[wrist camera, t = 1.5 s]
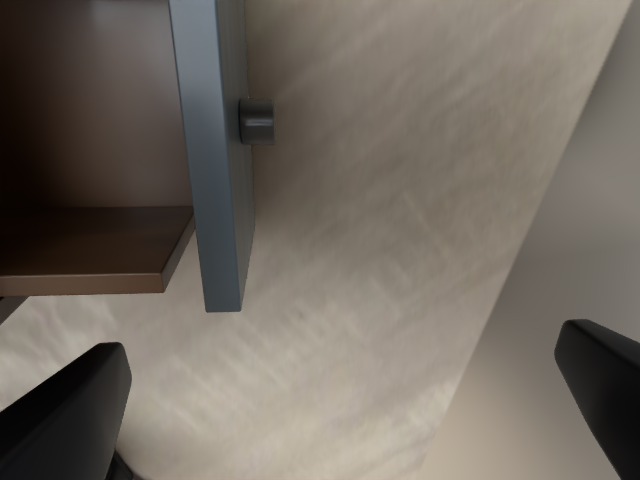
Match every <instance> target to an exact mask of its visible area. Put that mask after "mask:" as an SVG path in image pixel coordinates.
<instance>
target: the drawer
mask: <svg viewBox="0 0 640 480" xmlns="http://www.w3.org/2000/svg"><path fill="white" fill-rule="evenodd" d="M275 139H276V129H275V102H274V99H258V98H249V92H248V73H247V54H246V35H245V16H244V0H0V297H5V296H49V295H93V294H137V293H164V292H165V290H166V288H167V286H168V284H169V281H170V279H171V277H172V275H173V273H174V271H175V269H176V267H177V265H178V263H179V261H180V259H181V257H182V255H183V253H184V251H185V248H186V246H187V244H188V242H189V240H190V238H191V236H192V234H193V232H194V230H195V228H196V236H197V244H198V253H199V261H200V269H201V277H202V285H203V293H204V302H205V310H206V312H239V311H241V308H242V302H243V296H244V290H245V284H246V279H247V273H248V267H249V261H250V255H251V249H252V243H253V237H254V231H255V206H254V187H253V168H252V149H251V145H274V144H275Z"/></svg>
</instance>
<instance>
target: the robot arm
mask: <svg viewBox="0 0 640 480" xmlns="http://www.w3.org/2000/svg"><path fill="white" fill-rule="evenodd" d="M554 355H555V360H556V363H557V365H558V367H559V369H560V371H561V373H562V375H563V377H564V379H565V381H566V383H567V385H568V387H569V389H570V391H571V393H572V395H573V397H574V399H575V401H576V403H577V405H578V407H579V409H580V411H581V413H582V415H583V417H584V419H585V421H586V422H587V424H588V426H589V428H590V430H591V432H592V433H593V435H594V437H595V439H596V440H597V442H598V443H599V445H600V447H601V448H602V450H603V451H604V453H605V455H606V456H607V458H608V460H609V461H610V463H611V464H612V466H613V468H614V469H615V471H616V472H617V474H618V476H619V477H620V479H621V480H640V343H638V342H636V341H634V340H632V339H630V338H627V337H625V336H623V335H621V334H619V333H617V332H614V331H612V330H610V329H608V328H606V327H603V326H601V325H599V324H597V323H595V322H592V321H590V320H587V319H573V320H567V321H565V322H564V323H563V325H562V328H561V331H560V334H559V338H558V340H557V344H556V347H555V350H554ZM131 382H132V375H131V370H130V367H129V363H128V359H127V356H126V352H125V349H124V346H123V345H122V344H121V343H119V342H108V343H99V344H97V345H95V346H94V347H92V348H91V349H90V350H88V351H87V352H85V353H84V354H82V355H81V356H80V357H78V358H77V359H75V360H74V361H72V362H71V363H70V364H68V365H67V366H65V367H64V368H62V369H61V370H60V371H58V372H57V373H55V374H54V375H52V376H51V377H50V378H48V379H47V380H45V381H44V382H42V383H41V384H40V385H38V386H37V387H35V388H34V389H32V390H31V391H30V392H28V393H27V394H25V395H24V396H22V397H21V398H20V399H18V400H17V401H15V402H14V403H13V404H11V405H10V406H8V407H7V408H5V409H4V410H3V411H1V412H0V480H132V479H133V475H132V474H131V473H130V471H129V470H128V468H127V467H126V466H125V464H124V463H123V461H122V460H121V459H120V457H119V456H118V454H117V453H116V452H115V450H114V449H115V445H116V441H117V438H118V434H119V430H120V426H121V422H122V418H123V415H124V411H125V407H126V403H127V399H128V395H129V392H130V388H131Z"/></svg>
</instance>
